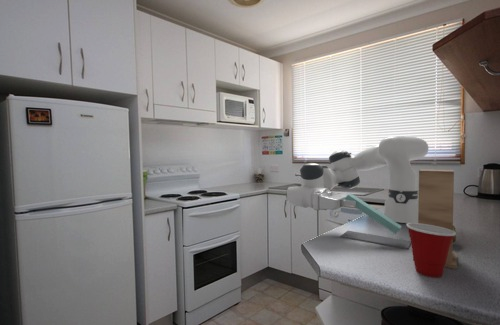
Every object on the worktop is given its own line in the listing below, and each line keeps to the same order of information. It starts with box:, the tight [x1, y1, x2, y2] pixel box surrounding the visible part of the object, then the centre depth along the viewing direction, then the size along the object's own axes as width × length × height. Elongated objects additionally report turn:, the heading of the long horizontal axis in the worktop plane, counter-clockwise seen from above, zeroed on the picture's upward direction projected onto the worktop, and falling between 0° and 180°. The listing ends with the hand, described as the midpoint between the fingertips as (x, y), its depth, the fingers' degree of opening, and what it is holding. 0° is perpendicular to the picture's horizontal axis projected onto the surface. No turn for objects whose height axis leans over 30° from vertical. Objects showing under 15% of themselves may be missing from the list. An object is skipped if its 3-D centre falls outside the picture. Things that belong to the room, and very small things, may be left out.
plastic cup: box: [405, 223, 457, 278], centre depth 70 cm, size 11×11×12 cm
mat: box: [339, 230, 411, 250], centre depth 98 cm, size 9×22×1 cm, turn 53°
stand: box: [412, 168, 458, 270], centre depth 79 cm, size 11×10×26 cm
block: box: [345, 193, 403, 235], centre depth 98 cm, size 4×20×2 cm, turn 53°
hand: (358, 202), depth 101 cm, fingers closed on block, 4 cm apart
